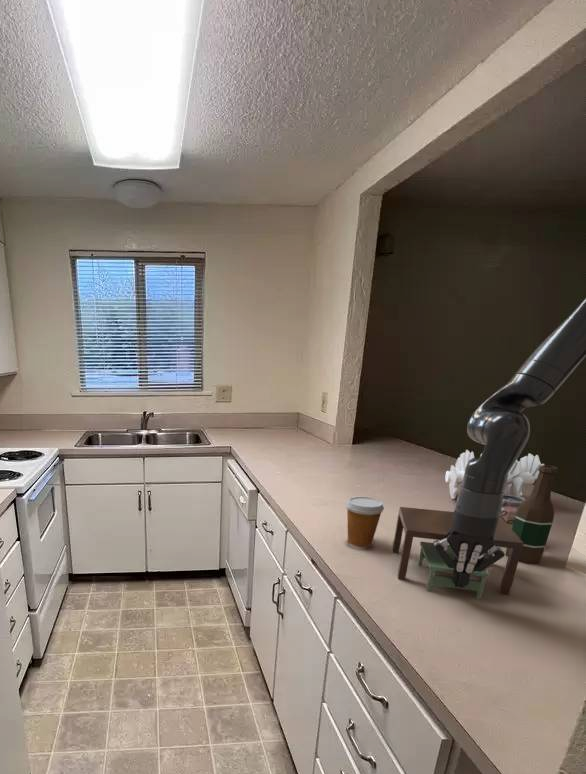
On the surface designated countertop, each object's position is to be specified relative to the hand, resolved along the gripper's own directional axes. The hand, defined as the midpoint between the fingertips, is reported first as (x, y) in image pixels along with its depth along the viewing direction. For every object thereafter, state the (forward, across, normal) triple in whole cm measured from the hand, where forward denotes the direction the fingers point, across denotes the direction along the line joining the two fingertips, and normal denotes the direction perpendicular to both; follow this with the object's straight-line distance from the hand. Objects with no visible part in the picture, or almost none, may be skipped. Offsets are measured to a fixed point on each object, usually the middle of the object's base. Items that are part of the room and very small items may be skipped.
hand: (458, 585), depth 93 cm
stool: (+3, 0, -8) cm, 9 cm away
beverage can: (+3, -18, -39) cm, 43 cm away
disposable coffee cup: (+3, +19, -24) cm, 31 cm away
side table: (+3, 0, -13) cm, 13 cm away
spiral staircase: (+3, -22, -73) cm, 76 cm away
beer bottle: (+3, -20, -27) cm, 34 cm away
